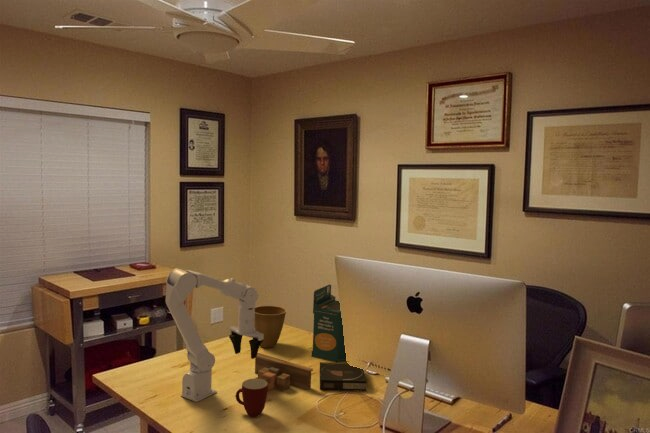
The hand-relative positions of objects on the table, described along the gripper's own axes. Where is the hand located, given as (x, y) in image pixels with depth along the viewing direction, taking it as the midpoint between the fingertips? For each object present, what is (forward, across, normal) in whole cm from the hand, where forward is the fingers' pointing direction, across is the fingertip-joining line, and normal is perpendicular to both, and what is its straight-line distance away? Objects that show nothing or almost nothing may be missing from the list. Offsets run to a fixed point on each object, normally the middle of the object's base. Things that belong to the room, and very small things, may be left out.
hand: (245, 355), depth 177 cm
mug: (+10, -17, +17) cm, 26 cm away
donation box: (+10, -13, -44) cm, 47 cm away
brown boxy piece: (+10, -10, +1) cm, 14 cm away
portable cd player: (+11, -28, -22) cm, 37 cm away
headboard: (+10, -10, -6) cm, 15 cm away
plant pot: (+10, +17, -35) cm, 40 cm away
